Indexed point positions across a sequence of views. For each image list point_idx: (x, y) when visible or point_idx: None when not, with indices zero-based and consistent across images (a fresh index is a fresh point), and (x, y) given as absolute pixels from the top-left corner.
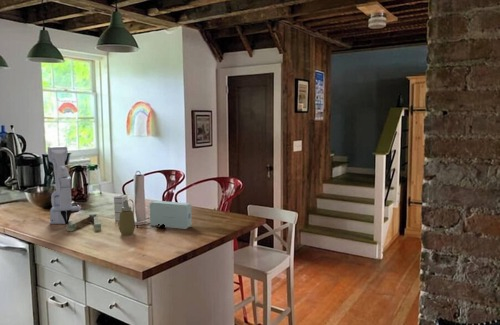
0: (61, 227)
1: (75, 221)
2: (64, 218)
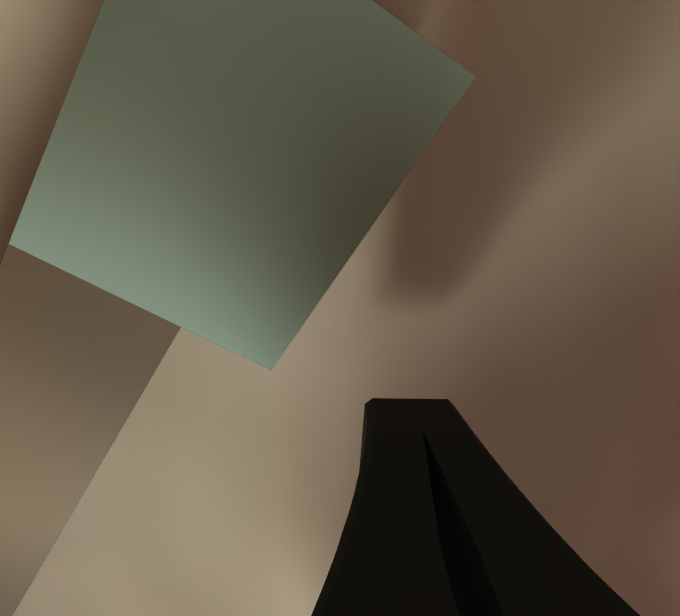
0: None
1: (99, 464)
2: (569, 584)
